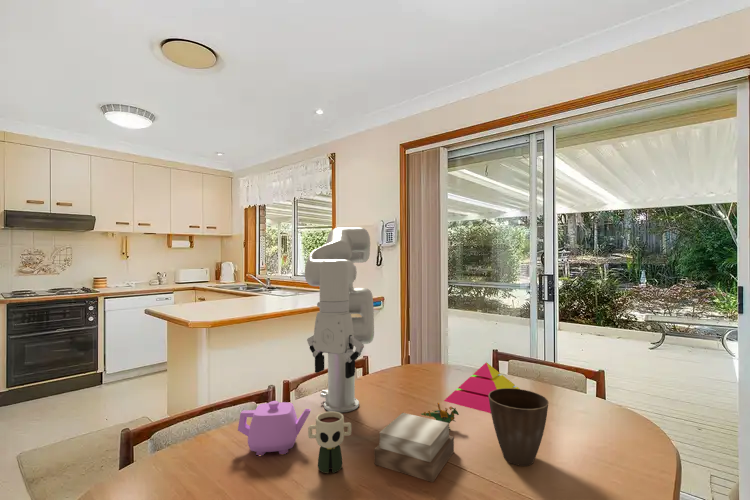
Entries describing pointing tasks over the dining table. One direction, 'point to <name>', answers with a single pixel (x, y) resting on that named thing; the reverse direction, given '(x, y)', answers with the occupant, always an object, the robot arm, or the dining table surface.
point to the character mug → (329, 439)
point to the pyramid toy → (479, 389)
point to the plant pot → (518, 423)
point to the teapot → (272, 427)
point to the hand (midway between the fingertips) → (334, 374)
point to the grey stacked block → (415, 446)
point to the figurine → (442, 414)
